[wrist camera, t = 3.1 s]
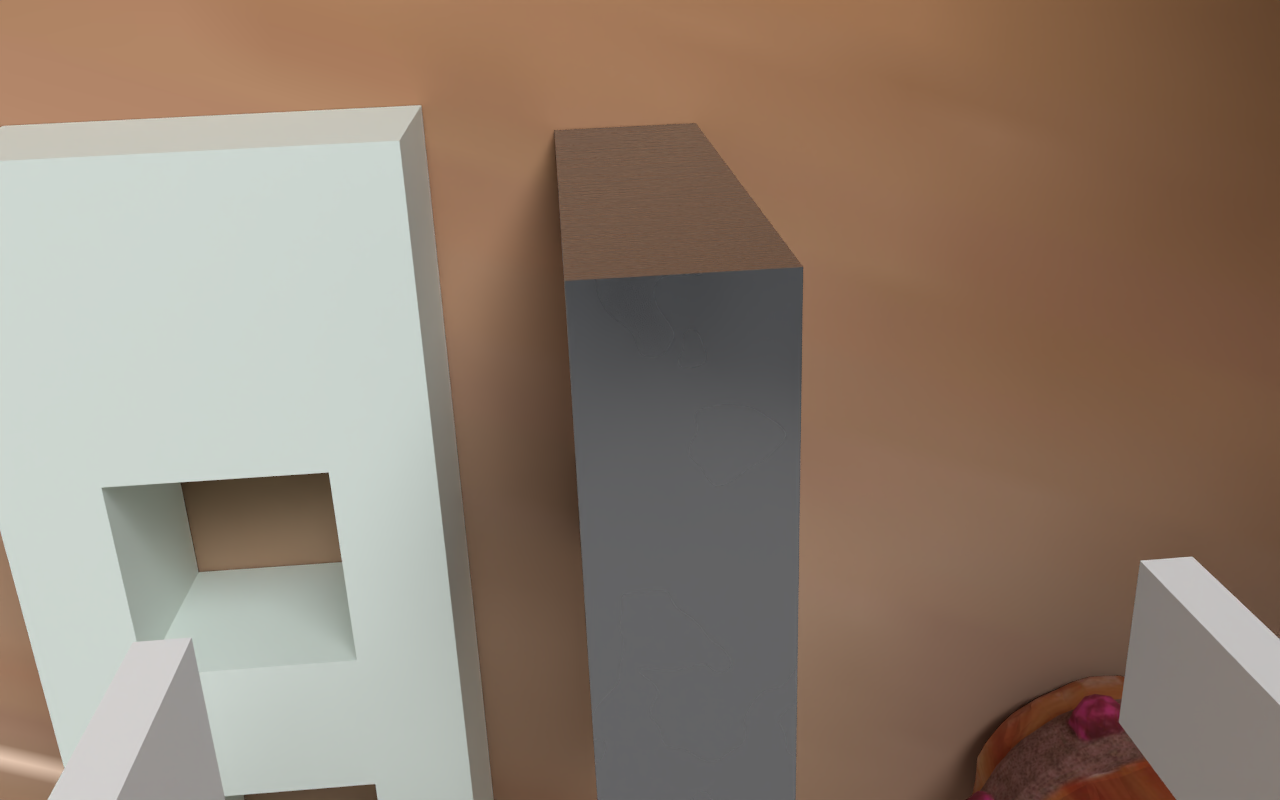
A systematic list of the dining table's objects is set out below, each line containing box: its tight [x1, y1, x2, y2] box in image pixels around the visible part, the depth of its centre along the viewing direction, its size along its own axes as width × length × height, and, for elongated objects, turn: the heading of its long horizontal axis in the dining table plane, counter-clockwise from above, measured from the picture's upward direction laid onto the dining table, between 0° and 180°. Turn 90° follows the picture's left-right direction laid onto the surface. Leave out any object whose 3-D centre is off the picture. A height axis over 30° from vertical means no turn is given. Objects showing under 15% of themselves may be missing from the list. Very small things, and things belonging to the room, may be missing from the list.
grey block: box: [554, 123, 803, 800], centre depth 24 cm, size 11×3×12 cm, turn 2°
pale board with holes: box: [0, 105, 494, 800], centre depth 29 cm, size 26×9×4 cm, turn 2°
